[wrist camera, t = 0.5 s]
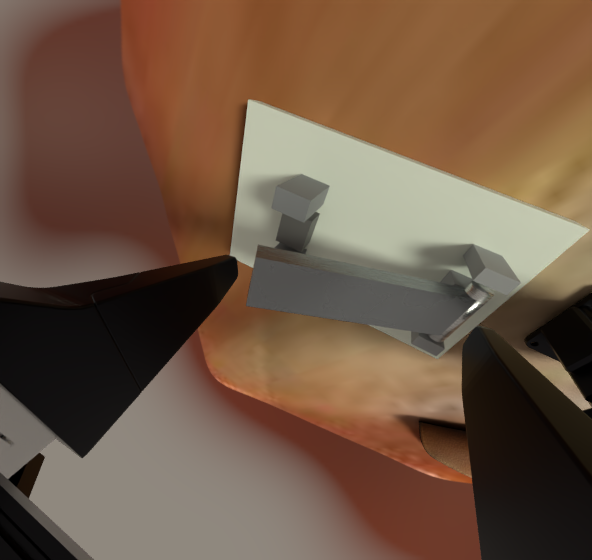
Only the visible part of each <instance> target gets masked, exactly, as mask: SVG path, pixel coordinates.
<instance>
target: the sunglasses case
mask: <svg viewBox="0 0 592 560" xmlns="http://www.w3.org/2000/svg"><path fill="white" fill-rule="evenodd" d="M419 430H420V438H421V442H422V444H423V447H424V449H425V450H426V452H427V453H428V454H429V455H430V456H431V457H433V458H434V459H436V460H437V461H439V462H441V463H443V464H445V465H447V466H448V467H450V468H452V469H454V470H456V471H458V472H460V473H462V474H464V475H467V476H469V477H471V478H472V475H471V466H470V458H469V450H468V441H467V433H466V431H462V430H456V429H451V428H446V427H441V426H435V425H431V424H427V423H422V422H421V421H420V420H419Z"/></svg>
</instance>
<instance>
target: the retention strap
mask: <svg viewBox="0 0 592 560" xmlns="http://www.w3.org/2000/svg"><path fill="white" fill-rule="evenodd" d="M493 296H494V292H493V291H492V290H491V289H490V288H489V287H487V286H484V285H482V284H480V283H477V282H475V281H472V282H471V283H470V284H469V285H468V286H467V287H466V288H465V287H460V286H455V285H450V284H445V283H441V282H436V281H431V280H426V279H421V278H417V277H412V276H407V275H402V274H397V273H393V272H388V271H383V270H378V269H374V268H369V267H364V266H359V265H354V264H350V263H345V262H340V261H335V260H330V259H326V258H321V257H316V256H311V255H306V254H302V253H297V252H292V251H287V250H282V249H278V248H273V247H268V246H263V245H259V244H258V246H257V251H256V256H255V261H254V266H253V271H252V276H251V281H250V286H249V291H248V297H247V303H246V306H251V307H257V308H263V309H270V310H276V311H283V312H289V313H296V314H302V315H309V316H315V317H322V318H328V319H335V320H341V321H348V322H354V323H360V324H367V325H373V326H380V327H386V328H393V329H399V330H406V331H412V332H419V333H425V334H427V335H428V336H429V337H430V338H431V339H432V340H434V341H436V342H439V343H441V342H443V341H444V340H445V339H447V338H448V337H449V336H450V335H451V334H452V333H453V332H454V331H455V330H457V329H458V328H459V327H460V326H461V325H462V324H463V323H464V322H465V321H467V320H468V319H469V318H470V317H471V316H472V315H473V314H474V313H475V312H477V311H478V310H479V309H480V308H481V307H482V306H483V305H484V304H485V303H487V302H488V301H489V300H490V299H491V298H492V297H493Z"/></svg>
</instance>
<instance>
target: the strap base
mask: <svg viewBox="0 0 592 560" xmlns="http://www.w3.org/2000/svg"><path fill="white" fill-rule="evenodd" d="M589 230H590V229H588V228H586V227H585V226H583V225H581V224H579V223H578V222H576V221H573V220H571V219H568V218H566V217H563V216H560V215H558V214H555V213H552V212H550V211H547V210H545V209H542V208H539V207H537V206H534V205H531V204H529V203H526V202H523V201H521V200H518V199H516V198H513V197H510V196H508V195H505V194H502V193H500V192H497V191H495V190H492V189H489V188H487V187H484V186H481V185H479V184H476V183H474V182H471V181H468V180H466V179H463V178H460V177H458V176H455V175H452V174H450V173H447V172H445V171H442V170H439V169H437V168H434V167H431V166H429V165H426V164H424V163H421V162H418V161H416V160H413V159H410V158H408V157H405V156H403V155H400V154H397V153H395V152H392V151H389V150H387V149H384V148H381V147H379V146H376V145H374V144H371V143H368V142H366V141H363V140H360V139H358V138H355V137H353V136H350V135H347V134H345V133H342V132H339V131H337V130H334V129H332V128H329V127H326V126H324V125H321V124H318V123H316V122H313V121H310V120H308V119H305V118H303V117H300V116H297V115H295V114H292V113H289V112H287V111H284V110H282V109H279V108H276V107H274V106H271V105H268V104H266V103H263V102H261V101H257V100H250V99H248V106H247V115H246V123H245V132H244V140H243V148H242V157H241V165H240V174H239V182H238V191H237V199H236V208H235V216H234V225H233V233H232V242H231V250H230V256H234V257H235V258H236V259H237V260H238V261H240V262H242V263H244V264H246V265H248V266H250V267H252V268H253V266H254V261H255V256H256V251H257V246H258V244H259V245H263V246H268V247H273V248H278V249H282V250H287V251H292V252H297V253H302V254H306V255H311V256H316V257H321V258H326V259H330V260H335V261H340V262H345V263H350V264H354V265H359V266H364V267H369V268H374V269H378V270H383V271H388V272H393V273H397V274H402V275H407V276H412V277H417V278H421V279H426V280H431V281H436V282H441V283H445V284H450V285H455V286H460V287H465V288H466V287H467V286H468V285H469V284H470V283H471V282H472V281H475V282H477V283H480V284H482V285H484V286H487V287H489V288H490V289H491V290H492V291H493V292H494V296H493V297H492V298H491V299H490V300H489V301H488V302H487V303H485V304H484V305H483V306H482V307H481V308H480V309H479V310H478V311H477V312H475V313H474V314H473V315H472V316H471V317H470V318H469V319H468V320H467V321H465V322H464V323H463V324H462V325H461V326H460V327H459V328H458V329H457V330H455V331H454V332H453V333H452V334H451V335H450V336H449V337H448V338H447V339H445V340H444V341H443V342H441V343H439V342H436V341H434V340H432V339H431V338H430V337H429V336H428V335H427V334H425V333H419V332H412V331H406V330H399V329H393V328H386V327H380V326H373V325H369V326H371V327H373V328H375V329H377V330H379V331H381V332H384V333H386V334H388V335H390V336H392V337H394V338H396V339H398V340H400V341H402V342H404V343H406V344H408V345H410V346H412V347H414V348H416V349H418V350H420V351H422V352H424V353H426V354H428V355H430V356H432V357H434V358H436V359H438V358H440V357H441V356H442V355H443V354H444V353H445V352H447V351H448V350H449V349H450V348H451V347H452V346H454V345H455V344H456V343H457V342H458V341H460V340H461V339H462V338H463V337H464V336H465V335H467V334H468V333H469V332H470V331H471V330H473V329H474V328H475V327H476V326H477V325H478V324H480V323H481V322H482V321H483V320H484V319H486V318H487V317H488V316H489V315H490V314H491V313H493V312H494V311H495V310H496V309H497V308H498V307H500V306H501V305H502V304H503V303H504V302H506V301H507V300H508V299H509V298H510V297H511V296H513V295H514V294H515V293H516V292H517V291H519V290H520V289H521V288H522V287H523V286H524V285H526V284H527V283H528V282H529V281H530V280H531V279H533V278H534V277H535V276H536V275H537V274H539V273H540V272H541V271H542V270H543V269H544V268H546V267H547V266H548V265H549V264H550V263H552V262H553V261H554V260H555V259H556V258H557V257H559V256H560V255H561V254H562V253H563V252H564V251H566V250H567V249H568V248H569V247H570V246H572V245H573V244H574V243H575V242H576V241H577V240H579V239H580V238H581V237H582V236H583V235H585V234H586V233H587V232H588V231H589Z"/></svg>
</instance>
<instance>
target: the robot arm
mask: <svg viewBox="0 0 592 560" xmlns="http://www.w3.org/2000/svg"><path fill="white" fill-rule="evenodd" d="M237 277H238V267H237V259H236V258H235V257H234V256H230V255H223V256H218V257H213V258H208V259H203V260H198V261H193V262H188V263H183V264H178V265H174V266H168V267H163V268H159V269H154V270H149V271H144V272H141V273H134V274H129V275H124V276H118V277H113V278H108V279H102V280H95V281H89V282H83V283H77V284H70V285H64V286H58V287H50V288H33V287H24V286H19V285H14V284H9V283H4V282H0V560H94V559H93V558H92V557H90V556H89V555H88V554H87V553H86V552H85V551H84V550H83V549H82V548H81V547H80V546H79V545H78V544H76V542H74V541H73V540H72V539H71V538H70V537H69V536H68V535H67V534H66V533H65V532H64V531H63V530H61V528H59V527H58V526H57V525H56V524H55V523H54V522H53V521H52V520H51V519H50V518H49V517H48V516H47V515H45V514H44V513H43V512H42V511H41V510H40V509H39V508H38V507H37V506H36V505H35V504H33V502H32V501H30V500H29V496H30V494H31V491H32V489H33V486H34V484H35V481H36V478H37V476H38V473H39V471H40V468H41V466H42V463H43V460H44V458H45V457H44V456H43V455H42V454H41V453H39V452H41V451H42V450H43V449H44V448H45V447H46V446H47V445H49V444H50V443H51V442H52V441H53V440H55V439H57V440H58V441H60V442H61V443H62V444H64V445H65V446H66V447H68V448H69V449H70V450H72V451H73V452H74V453H75V454H77V455H78V456H79V457H81V458H83V457H84V456H85V455H87V454H88V452H89V451H90V450H91V449H92V448H93V447H94V446H95V445H96V444H97V442H98V441H99V440H100V439H101V438H102V437H103V435H104V434H105V433H106V432H107V431H108V430H109V429H110V427H111V426H112V425H113V424H114V423H115V422H116V421H117V420H118V418H119V417H120V416H121V415H122V414H123V412H125V410H126V409H127V408H128V407H129V406H130V405H131V404H132V403H133V401H134V400H135V399H136V398H137V397H138V396H139V395H140V393H141V392H142V391H143V390H144V388H145V387H146V386H147V385H148V384H149V383H150V382H151V380H153V378H154V377H155V376H156V375H157V374H158V373H159V371H160V370H161V369H162V368H163V367H164V366H165V365H166V364H167V362H168V361H169V360H170V359H171V358H172V357H173V356H174V354H175V353H176V352H177V351H178V350H179V349H180V348H181V347H182V345H183V344H184V343H185V342H186V340H188V339H189V337H190V336H191V335H192V334H193V333H194V332H195V330H196V329H197V328H198V327H199V326H200V325H201V324H202V323H203V321H204V320H205V319H206V318H207V317H208V316H209V315H210V314H211V312H212V311H213V310H214V309H215V308H216V307H217V305H218V304H219V303H220V302H221V300H222V299H223V297H224V296H225V295H226V293H227V292H228V290H229V289H230V287H231V286H232V285H233V283H234V282H235V280H236V279H237ZM531 342H535V343H531ZM525 343H526V345H527V346H528V347H529V348H531V349H534V350H536V351H538V352H540V353H542V354H544V355H547V356H549V357H551V358H553V359H555V360H557V361H560V362H561V364H562V365H563V367H564V368H565V370H566V371H567V372H568V373H569V375H570V376H571V378H572V379H573V381H574V383H575V384H576V386H577V387H578V389H579V390H580V392H581V394H582V395H583V397H584V398H585V400H587V401H588V402H589V404H590V405H591V407H592V293H591V294H589V295H588V296H586V297H585V298H584V299H582V300H581V301H579V302H578V303H576V304H575V305H573V306H572V307H570V308H569V309H568V310H566V311H565V312H563V313H562V314H560V315H559V316H557V317H556V318H554V319H553V320H552V321H550V322H549V323H547V324H546V325H544V326H543V327H541V328H540V329H538V330H537V331H535V332H534V333H533V334H531V335H530V336H528V337H527V338H526V339H525ZM462 399H463V408H464V416H465V424H466V433H467V441H468V450H469V458H470V466H471V475H472V483H473V491H474V499H475V508H476V517H477V525H478V533H479V541H480V550H481V559H482V560H592V408H590V409H586V410H583V411H582V410H581V409H580V408H579V407H578V406H577V405H575V404H574V403H573V402H572V401H571V400H570V399H569V398H568V397H567V396H565V395H564V394H563V393H562V392H561V391H560V390H559V389H558V388H557V387H556V386H554V385H553V384H552V383H551V382H550V381H549V380H548V379H547V378H546V377H545V376H543V375H542V374H541V373H540V372H539V371H538V370H537V369H536V368H535V367H534V366H532V365H531V364H530V363H529V362H528V361H527V360H526V359H525V358H524V357H523V356H521V355H520V354H519V353H518V352H517V351H516V350H515V349H514V348H513V347H512V346H510V345H509V344H508V343H507V342H506V341H505V340H504V339H503V338H502V337H501V336H499V335H498V334H497V333H496V332H495V331H494V330H492V329H489V328H486V327H482V326H476V327H475V328H474V329H473V331H472V332H471V334H470V335H469V337H468V338H467V340H466V341H465V343H464V345H463V349H462Z"/></svg>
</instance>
